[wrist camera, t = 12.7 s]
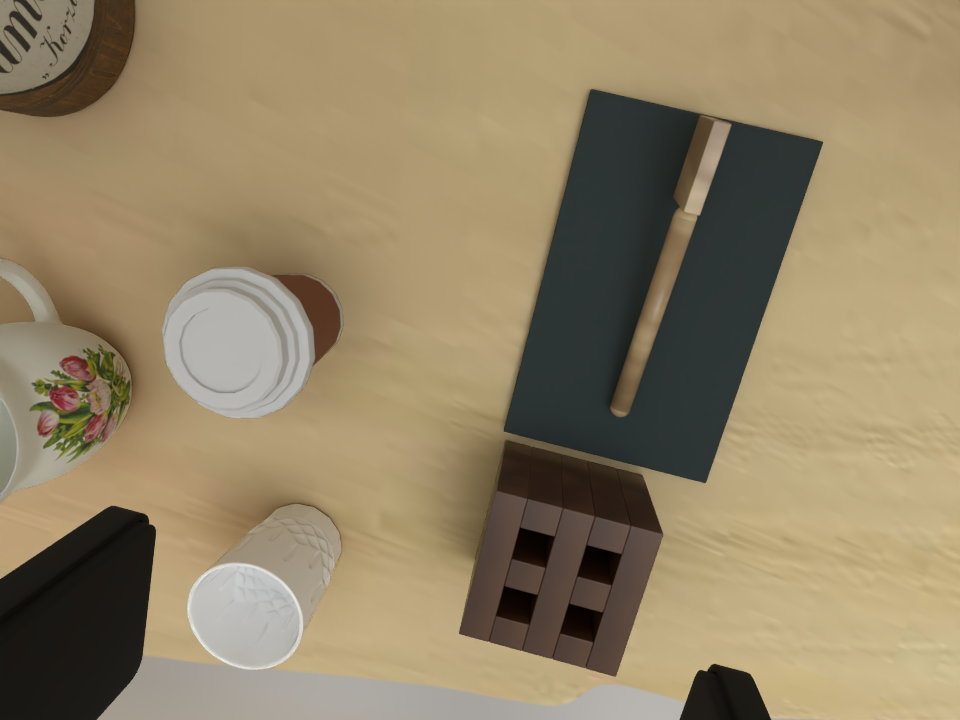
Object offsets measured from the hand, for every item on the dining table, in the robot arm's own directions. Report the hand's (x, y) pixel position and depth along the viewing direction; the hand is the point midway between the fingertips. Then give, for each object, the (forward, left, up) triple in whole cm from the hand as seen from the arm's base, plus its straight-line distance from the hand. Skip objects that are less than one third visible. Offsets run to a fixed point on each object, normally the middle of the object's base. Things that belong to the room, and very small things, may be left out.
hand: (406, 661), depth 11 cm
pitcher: (+31, +12, -36) cm, 50 cm away
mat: (-9, -4, -36) cm, 38 cm away
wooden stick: (-9, +5, -35) cm, 36 cm away
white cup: (+12, +22, -36) cm, 44 cm away
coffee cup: (+15, +4, -36) cm, 40 cm away
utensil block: (-7, +14, -36) cm, 40 cm away
